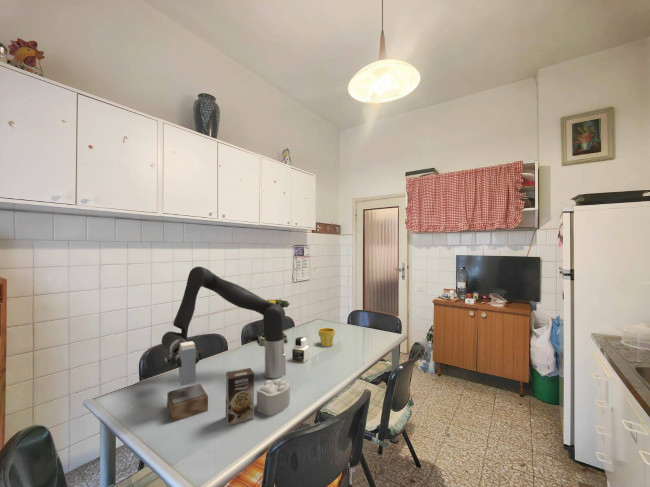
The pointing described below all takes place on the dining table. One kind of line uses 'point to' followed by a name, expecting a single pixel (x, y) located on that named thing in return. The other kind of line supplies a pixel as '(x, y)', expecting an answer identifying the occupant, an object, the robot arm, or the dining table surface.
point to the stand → (187, 402)
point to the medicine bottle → (300, 350)
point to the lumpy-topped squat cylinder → (273, 397)
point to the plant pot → (326, 336)
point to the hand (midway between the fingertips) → (188, 362)
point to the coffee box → (239, 396)
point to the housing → (187, 363)
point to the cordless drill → (282, 304)
